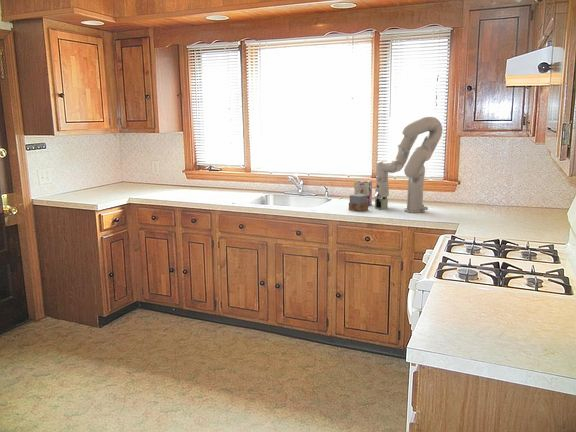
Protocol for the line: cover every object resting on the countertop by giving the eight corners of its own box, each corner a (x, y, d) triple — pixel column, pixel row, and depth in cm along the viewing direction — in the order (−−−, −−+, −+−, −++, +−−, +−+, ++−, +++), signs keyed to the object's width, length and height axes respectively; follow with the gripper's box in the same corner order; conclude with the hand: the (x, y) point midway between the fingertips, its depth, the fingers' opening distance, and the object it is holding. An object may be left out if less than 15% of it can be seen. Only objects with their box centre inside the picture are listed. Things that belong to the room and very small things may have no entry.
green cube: (387, 208, 335) (387, 199, 334) (382, 209, 331) (383, 200, 330) (379, 207, 339) (379, 198, 338) (374, 208, 335) (375, 199, 333)
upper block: (367, 202, 328) (367, 195, 327) (359, 204, 322) (359, 196, 321) (357, 201, 334) (357, 193, 333) (349, 202, 328) (349, 195, 327)
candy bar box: (371, 204, 348) (372, 181, 345) (369, 205, 344) (370, 181, 341) (356, 203, 354) (356, 180, 350) (353, 204, 349) (354, 180, 346)
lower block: (368, 210, 329) (368, 202, 328) (360, 212, 323) (360, 204, 322) (356, 208, 335) (356, 201, 334) (348, 210, 329) (348, 203, 328)
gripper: (380, 181, 322) (379, 209, 326) (393, 178, 335) (392, 205, 339) (370, 180, 327) (369, 207, 331) (384, 178, 340) (383, 204, 343)
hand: (381, 206), depth 335 cm, fingers closed on green cube, 6 cm apart
